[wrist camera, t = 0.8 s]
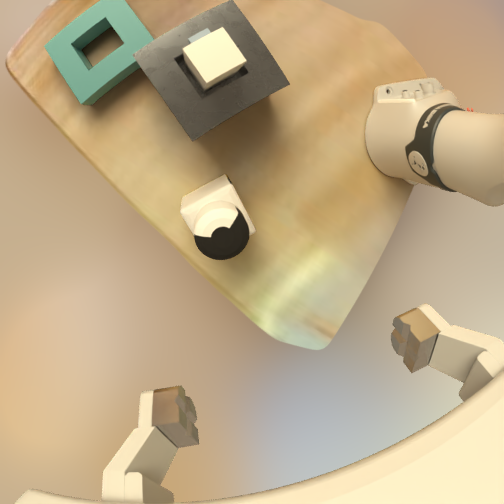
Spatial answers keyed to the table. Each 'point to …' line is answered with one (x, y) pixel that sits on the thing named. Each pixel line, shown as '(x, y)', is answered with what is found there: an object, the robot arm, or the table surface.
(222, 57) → the plug
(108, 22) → the block
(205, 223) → the medicine bottle
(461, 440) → the robot arm
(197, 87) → the dark grey square frame
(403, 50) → the table surface
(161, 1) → the table surface
